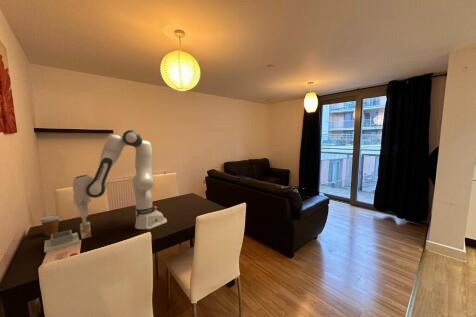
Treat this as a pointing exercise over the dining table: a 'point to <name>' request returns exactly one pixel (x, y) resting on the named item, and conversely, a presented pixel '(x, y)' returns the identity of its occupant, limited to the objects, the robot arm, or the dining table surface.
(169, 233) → the dining table surface
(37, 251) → the dining table surface
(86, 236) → the chute block
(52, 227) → the disposable coffee cup
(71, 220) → the dining table surface
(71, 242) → the chute mount
